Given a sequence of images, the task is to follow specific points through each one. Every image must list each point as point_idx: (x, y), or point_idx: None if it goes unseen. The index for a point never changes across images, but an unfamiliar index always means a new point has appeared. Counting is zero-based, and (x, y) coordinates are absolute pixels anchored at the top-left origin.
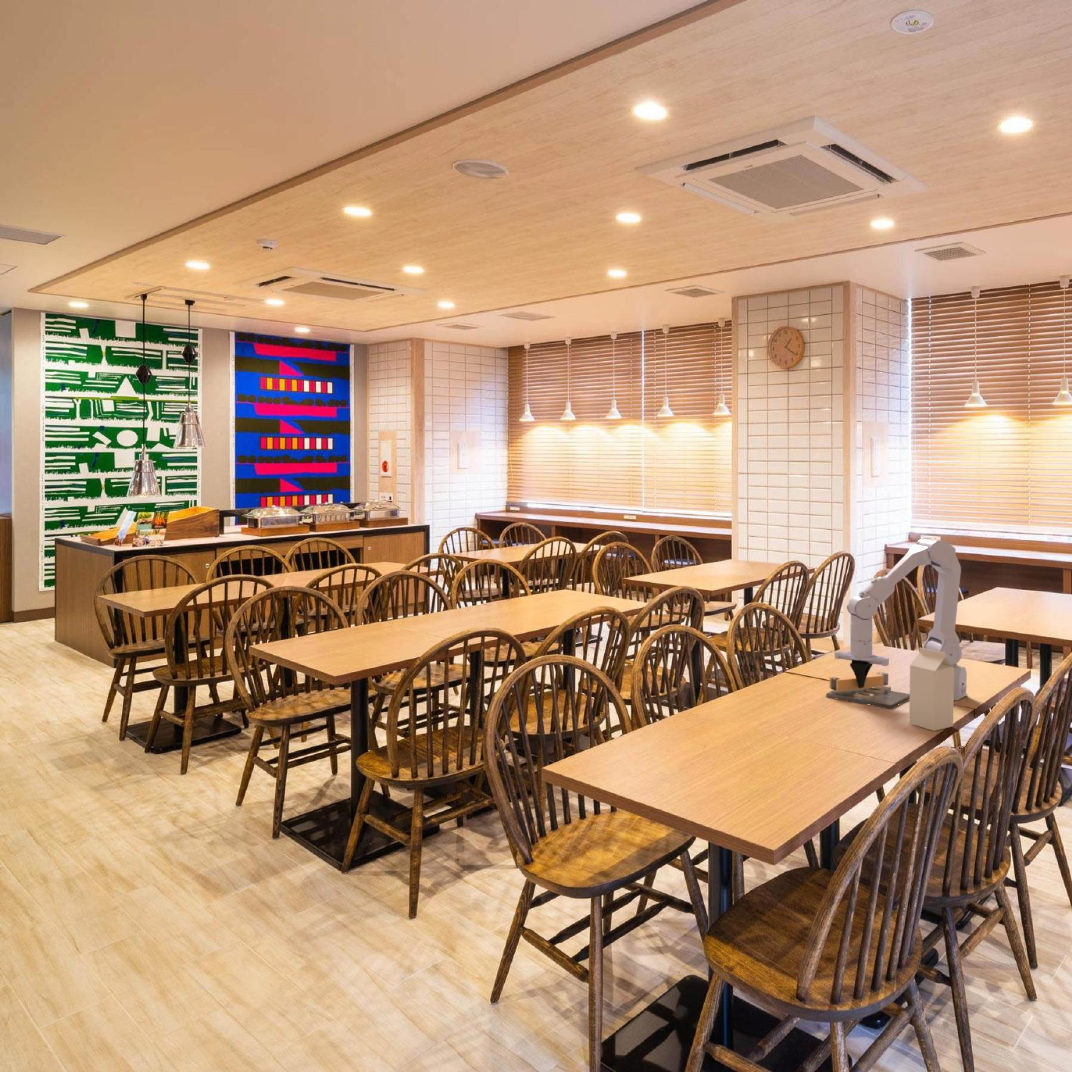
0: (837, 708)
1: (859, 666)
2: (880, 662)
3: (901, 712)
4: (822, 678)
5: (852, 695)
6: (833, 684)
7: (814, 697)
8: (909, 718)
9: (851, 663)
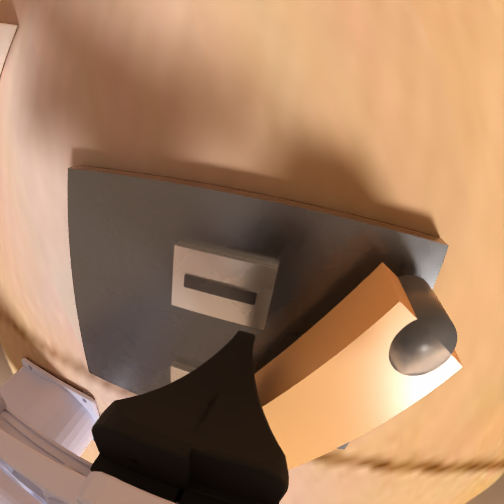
0: (313, 8)
1: (158, 428)
2: (10, 430)
3: (45, 142)
4: (433, 472)
5: (288, 267)
6: (426, 294)
7: (493, 195)
8: (5, 23)
9: (272, 490)
